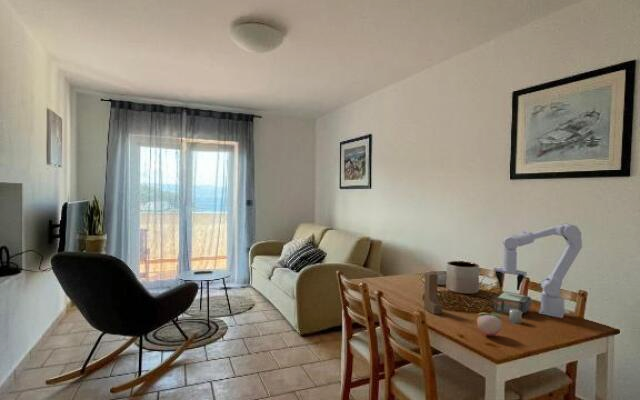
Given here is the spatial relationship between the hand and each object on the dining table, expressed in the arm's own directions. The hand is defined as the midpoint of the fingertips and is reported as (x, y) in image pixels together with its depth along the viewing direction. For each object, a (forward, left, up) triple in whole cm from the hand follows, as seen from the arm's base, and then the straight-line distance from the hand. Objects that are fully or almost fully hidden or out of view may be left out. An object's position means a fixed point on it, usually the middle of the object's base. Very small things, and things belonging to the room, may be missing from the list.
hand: (509, 288), depth 175 cm
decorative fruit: (-2, +43, -10) cm, 44 cm away
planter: (+29, -17, -10) cm, 35 cm away
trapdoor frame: (-1, +3, -10) cm, 11 cm away
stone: (-6, +18, -10) cm, 21 cm away
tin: (+44, -20, -11) cm, 49 cm away
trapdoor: (-3, +3, -8) cm, 9 cm away
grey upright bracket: (+27, +30, -10) cm, 41 cm away
